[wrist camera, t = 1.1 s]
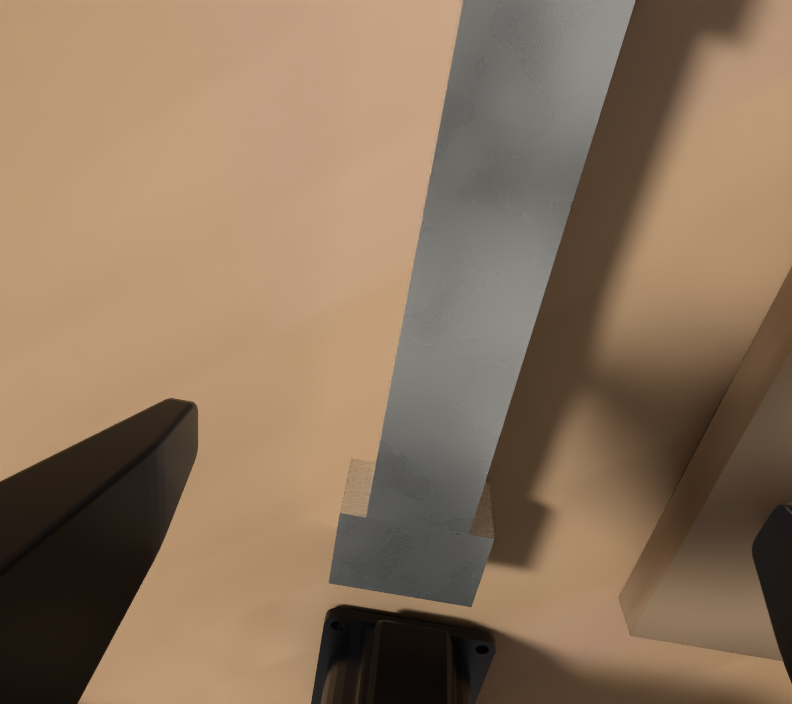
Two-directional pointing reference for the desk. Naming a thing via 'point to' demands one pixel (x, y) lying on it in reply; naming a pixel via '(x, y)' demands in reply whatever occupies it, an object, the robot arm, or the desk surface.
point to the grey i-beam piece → (476, 287)
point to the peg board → (724, 511)
